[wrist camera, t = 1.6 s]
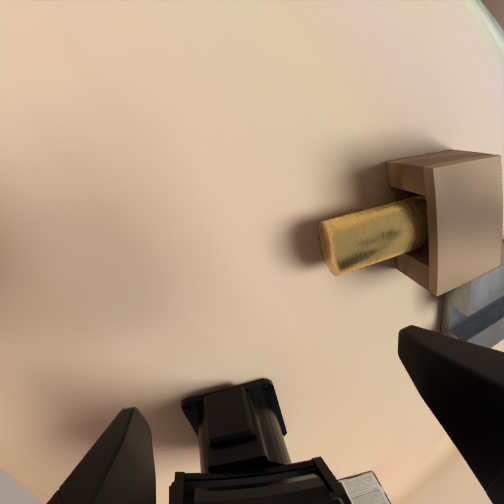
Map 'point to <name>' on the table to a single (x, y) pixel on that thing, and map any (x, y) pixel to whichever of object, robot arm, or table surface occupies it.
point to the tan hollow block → (453, 216)
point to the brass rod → (374, 234)
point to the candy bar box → (364, 489)
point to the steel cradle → (476, 308)
